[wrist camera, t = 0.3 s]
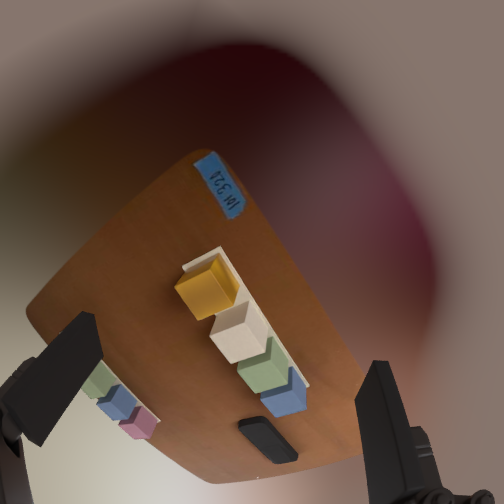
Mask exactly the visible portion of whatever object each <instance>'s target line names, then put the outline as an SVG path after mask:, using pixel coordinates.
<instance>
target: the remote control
mask: <svg viewBox="0 0 504 504" xmlns="http://www.w3.org/2000/svg"><path fill="white" fill-rule="evenodd" d="M238 429H239V430H240V431H241V432H242V433H243V434H244V435H245V436H246V437H247V438H248V439H249V440H250V441H251V442H252V443H253V444H254V445H255V446H256V447H257V448H258V449H259V450H260V451H261V452H262V453H263V454H264V455H265V456H266V457H267V458H268V459H270V460H271V461H272V462H273V463H274V464H282V463H288V462H293V461H296V460H297V459H298V453H297V452H296V451H295V450H294V449H293V448H292V447H291V446H290V445H289V443H288V442H287V441H286V440H285V439H284V438H283V437H282V436H281V434H280V433H279V432H278V431H277V430H276V429H275V428H274V426H273V425H272V424H271V423H270V422H269V421H268V419H267V418H265V417H262V416H259V417H254V418H249V419H244V420H241V421H239V427H238Z"/></svg>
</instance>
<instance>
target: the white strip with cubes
mask: <svg viewBox="0 0 504 504" xmlns="http://www.w3.org/2000/svg"><path fill="white" fill-rule="evenodd" d="M217 253H220V254H221V256H222V257H223V259H224V261H225V262H226V264H227V265H228V267H229V269H230V270H231V272H232V273H233V275H234V276H235V278H236V280H237V281H238V283H239V284H240V287H239V290H238V293H237V296H236V299H235V303H234V306H232V307H230V308H227V309H225V310H223V311H220V312H218V313H215V316H216V319H215V322H214V325H213V327H212V330H211V333H210V335H209V336H210V338H211V339H212V340H213V342H214V343H215V344H216V346H217V347H218V348H219V349H220V351H221V352H222V353H223V355H224V356H225V357H226V358H227V360H228V361H229V362H230V364H232V363H235V362H238V361H239V363H238V367H237V372H238V373H239V375H240V376H241V377H242V378H243V379H244V381H245V382H246V383H247V384H248V386H249V387H250V388H251V389H252V390H253V392H254V393H259V392H261V396H260V400H261V401H262V402H263V404H264V405H265V406H266V407H267V408H268V409H269V411H270V412H271V413H272V414H273V415H274V416H275V417H276V418H277V417H281V416H285V415H288V414H292V413H296V412H299V411H303V410H306V409H307V406H306V387H309V386H310V385H309V384H308V382H307V381H306V379H305V378H304V376H303V375H302V373H301V372H300V370H299V369H298V367H297V366H296V364H295V363H294V361H293V360H292V358H291V356H290V355H289V353H288V352H287V350H286V349H285V347H284V346H283V344H282V343H281V341H280V340H279V338H278V336H277V335H276V333H275V332H274V330H273V329H272V327H271V326H270V324H269V322H268V321H267V319H266V318H265V316H264V315H263V313H262V312H261V310H260V308H259V307H258V305H257V304H256V302H255V301H254V299H253V297H252V296H251V294H250V293H249V291H248V289H247V288H246V286H245V285H244V283H243V282H242V280H241V278H240V277H239V275H238V274H237V272H236V270H235V269H234V267H233V266H232V264H231V262H230V261H229V259H228V257H227V256H226V254H225V253H224V251H223V249H222V248H221V246H219V247H217V248H216V249H214V250H212V251H210V252H208V253H206V254H204V255H202V256H200V257H198V258H196V259H194V260H193V261H191V262H189V263H187V264H185V265H183V266H182V267H183V269H184V270H185V271H186V270H187V269H188V268H189V267H191V266H193V265H195V264H197V263H199V262H201V261H203V260H205V259H207V258H209V257H211V256H213V255H215V254H217Z"/></svg>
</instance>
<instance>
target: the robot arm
mask: <svg viewBox="0 0 504 504" xmlns="http://www.w3.org/2000/svg"><path fill="white" fill-rule="evenodd" d="M103 357H104V356H103V352H102V348H101V344H100V340H99V335H98V331H97V326H96V321H95V316H94V314H91V313H87V312H84V311H82V312H81V313H80V314H79V315H78V316H77V317H76V318H75V319H74V320H73V321H72V322H71V323H70V324H69V325H68V326H67V327H66V328H65V329H64V330H63V331H62V332H61V333H60V334H59V335H58V336H57V337H56V338H55V339H54V340H53V341H52V342H51V343H50V344H49V345H48V346H47V348H45V350H44V351H43V352H42V353H41V354H40V355H39V356H38V357H37V358H35V357H31V358H29V359H27V360H26V361H24V362H23V363H22V364H21V365H20V366H19V367H18V368H17V370H15V371H14V372H13V374H12V376H10V377H9V378H8V379H7V380H6V382H5V383H4V384H3V385H2V386H1V387H0V504H34V502H33V499H32V494H31V490H30V485H29V480H28V475H27V470H26V464H25V458H24V452H23V443H22V439H21V436H20V435H21V434H22V432H23V433H24V435H25V436H26V437H27V439H28V440H30V441H31V442H33V443H34V444H36V445H38V446H39V447H41V446H42V445H43V443H44V441H45V440H46V438H47V437H48V435H49V434H50V432H51V431H52V429H53V428H54V426H55V425H56V423H57V422H58V420H59V419H60V417H61V416H62V414H63V413H64V411H65V410H66V408H67V407H68V406H69V404H70V403H71V401H72V400H73V398H74V397H75V395H76V394H77V393H78V391H79V390H80V388H81V387H82V386H83V384H84V383H85V381H86V380H87V379H88V377H89V376H90V374H91V373H92V372H93V370H94V369H95V367H96V366H97V365H98V363H99V362H100V361H101V359H102V358H103ZM355 405H356V411H357V417H358V423H359V429H360V435H361V441H362V448H363V455H364V462H365V470H366V477H367V486H368V494H369V504H495V501H494V497H493V494H492V493H490V492H489V491H487V490H479V491H478V492H476V493H474V494H473V495H472V496H463V495H453V494H452V492H451V491H450V490H448V489H446V488H444V487H443V486H442V483H441V480H440V476H439V473H438V469H437V465H436V462H435V458H434V456H433V452H432V448H431V447H430V446H431V445H430V442H429V439H428V436H427V434H426V433H425V432H424V430H423V429H422V428H421V426H417V427H410V426H409V422H408V419H407V416H406V413H405V409H404V406H403V403H402V400H401V397H400V394H399V391H398V388H397V385H396V382H395V379H394V376H393V373H392V371H391V368H390V365H389V362H388V361H377V360H373V362H372V364H371V366H370V369H369V371H368V373H367V375H366V377H365V379H364V382H363V384H362V386H361V388H360V390H359V392H358V394H357V396H356V398H355Z"/></svg>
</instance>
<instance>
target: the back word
mask: <svg viewBox="0 0 504 504" xmlns="http://www.w3.org/2000/svg"><path fill="white" fill-rule="evenodd" d="M61 332H62V331H61ZM61 332H60V333H61ZM60 333H59V334H60ZM81 389H82V390H83V391H84V392H85V393H86V394H87V395H88V396H89V397H90V399H94V398H100V399H99V400H98V402H97V404H96V405H98V407H99V408H100V409H101V410H103V411H104V412H105V413H106V414H107V415H108V416H109V417H110V418H111V419H112V420H120V422H119V424H118V425H119V426H120V427H121V428H122V429H123V430H124V431H125V432H126V433H128V434H129V435H130V436H131V437H132V438H134V439H148V438H151V436H152V433H153V431H154V429H155V426H156V424H157V422H161V420H160V419H158V418H157V417H156V416H155V415H154V414H153V413H152V412H151V411H150V410H149V409H148V408H147V407H146V406H145V405H144V404H143V403H142V402H141V401H140V400H139V399H138V398H137V397H136V396H135V395H134V394H133V393H132V392H131V391H130V390H129V389H128V388H127V387H126V386H125V385H124V384H123V383H122V382H121V380H120V379H119V378H118V377H117V376H116V375H115V374H114V373H113V372H112V371H111V369H110V368H109V367H108V366H107V365H106V364H105V363H104V361H103V360H102V359H101V361H100V362H99V363H98V365H97V366H96V367H95V369H94V370H93V372H92V373H91V374H90V376H89V377H88V379H87V380H86V381H85V383H84V384H83V386H82V387H81Z"/></svg>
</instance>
